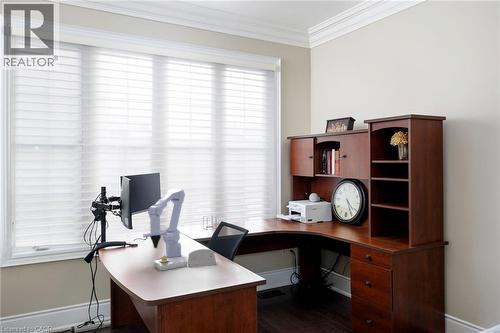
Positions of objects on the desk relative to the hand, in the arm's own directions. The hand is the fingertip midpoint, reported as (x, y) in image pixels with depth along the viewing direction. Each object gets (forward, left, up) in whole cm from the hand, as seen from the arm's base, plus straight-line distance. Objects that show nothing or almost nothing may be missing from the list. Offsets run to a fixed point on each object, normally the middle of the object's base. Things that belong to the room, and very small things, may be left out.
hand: (155, 247), depth 224 cm
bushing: (-1, +11, -9) cm, 14 cm away
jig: (-5, +11, -9) cm, 15 cm away
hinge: (-22, +18, -10) cm, 30 cm away
